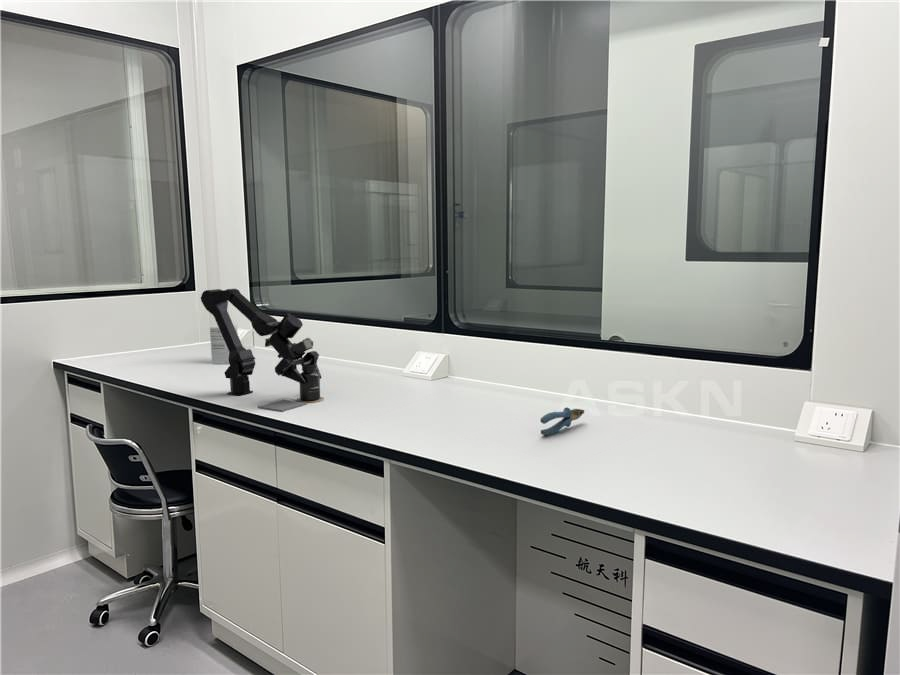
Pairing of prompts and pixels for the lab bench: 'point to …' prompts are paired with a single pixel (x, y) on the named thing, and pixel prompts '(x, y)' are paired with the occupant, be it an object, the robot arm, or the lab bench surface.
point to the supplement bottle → (310, 383)
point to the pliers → (566, 421)
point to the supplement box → (219, 346)
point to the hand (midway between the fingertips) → (312, 380)
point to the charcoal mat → (282, 405)
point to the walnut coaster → (310, 401)
